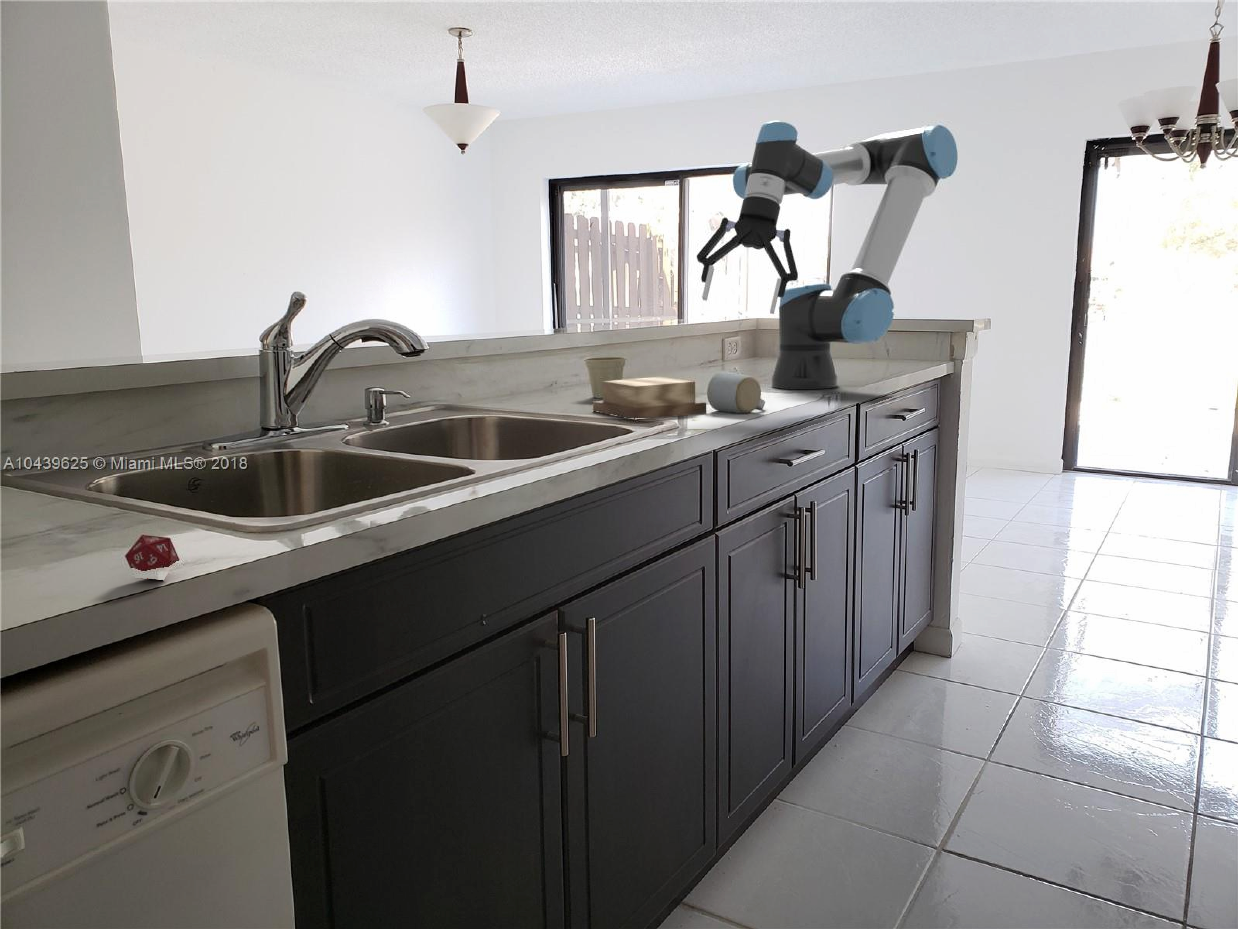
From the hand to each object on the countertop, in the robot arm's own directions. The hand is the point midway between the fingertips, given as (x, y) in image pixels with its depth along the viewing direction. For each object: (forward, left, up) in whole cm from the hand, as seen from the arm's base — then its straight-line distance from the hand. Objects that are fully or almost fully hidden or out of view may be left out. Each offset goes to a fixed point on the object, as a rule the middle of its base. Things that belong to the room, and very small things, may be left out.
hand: (737, 305), depth 185 cm
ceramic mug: (+5, +7, -20) cm, 22 cm away
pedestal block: (+19, -3, -18) cm, 26 cm away
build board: (+19, -3, -20) cm, 28 cm away
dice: (+110, +63, -20) cm, 129 cm away
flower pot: (+13, -31, -20) cm, 39 cm away
